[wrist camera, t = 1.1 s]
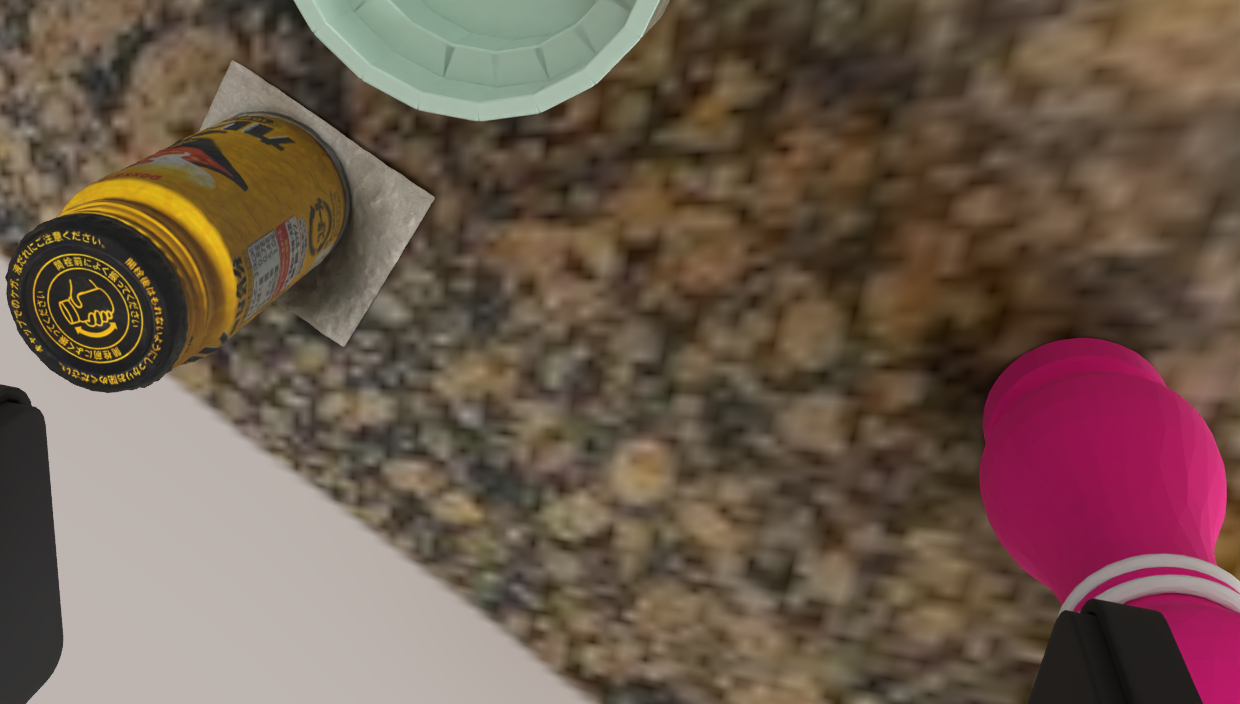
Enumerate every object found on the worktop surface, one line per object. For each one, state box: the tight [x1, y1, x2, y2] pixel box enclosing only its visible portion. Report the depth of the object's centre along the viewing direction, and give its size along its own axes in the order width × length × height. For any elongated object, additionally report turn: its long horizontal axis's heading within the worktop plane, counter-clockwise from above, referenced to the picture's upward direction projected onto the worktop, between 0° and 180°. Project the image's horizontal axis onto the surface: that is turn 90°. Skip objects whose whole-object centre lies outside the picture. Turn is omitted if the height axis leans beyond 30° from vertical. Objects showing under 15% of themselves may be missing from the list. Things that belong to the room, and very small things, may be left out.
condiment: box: [5, 60, 435, 393], centre depth 38 cm, size 7×8×12 cm
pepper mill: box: [979, 338, 1240, 704], centre depth 33 cm, size 7×7×20 cm
